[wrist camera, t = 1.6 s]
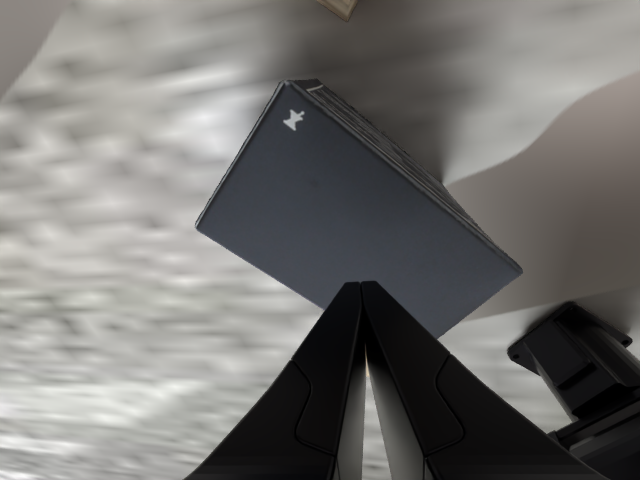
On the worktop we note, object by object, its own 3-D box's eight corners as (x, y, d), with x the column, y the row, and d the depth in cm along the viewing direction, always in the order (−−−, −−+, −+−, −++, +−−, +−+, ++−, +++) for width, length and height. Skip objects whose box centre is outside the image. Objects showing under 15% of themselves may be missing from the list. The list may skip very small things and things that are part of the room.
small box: (254, 165, 21) (180, 232, 11) (313, 73, 18) (282, 61, 9) (378, 254, 23) (404, 372, 13) (446, 184, 20) (536, 269, 11)
